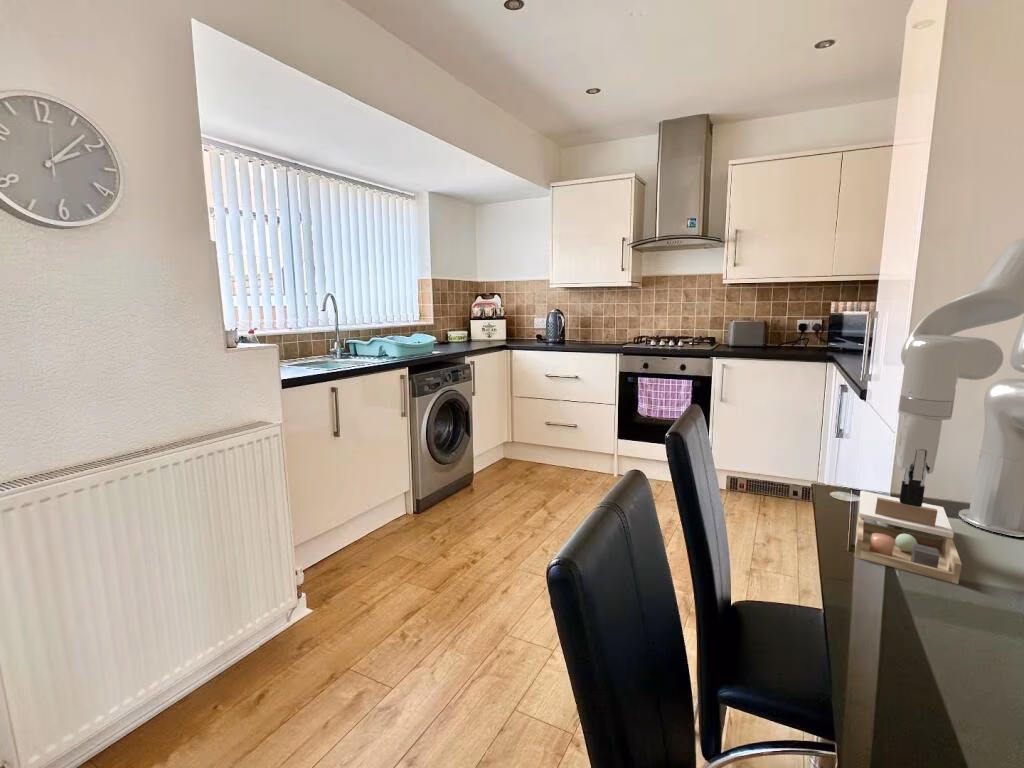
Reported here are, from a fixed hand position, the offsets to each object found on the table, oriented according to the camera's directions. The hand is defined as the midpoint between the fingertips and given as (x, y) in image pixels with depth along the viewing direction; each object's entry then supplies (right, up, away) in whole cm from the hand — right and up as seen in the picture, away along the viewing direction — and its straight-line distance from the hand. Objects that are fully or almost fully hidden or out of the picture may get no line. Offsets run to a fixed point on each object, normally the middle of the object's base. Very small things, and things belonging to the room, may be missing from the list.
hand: (910, 503), depth 94 cm
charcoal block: (-3, -9, -7) cm, 12 cm away
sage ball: (-2, -8, -1) cm, 9 cm away
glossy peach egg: (-7, -8, -2) cm, 11 cm away
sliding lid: (+4, -4, +7) cm, 9 cm away
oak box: (-3, -9, -1) cm, 10 cm away
